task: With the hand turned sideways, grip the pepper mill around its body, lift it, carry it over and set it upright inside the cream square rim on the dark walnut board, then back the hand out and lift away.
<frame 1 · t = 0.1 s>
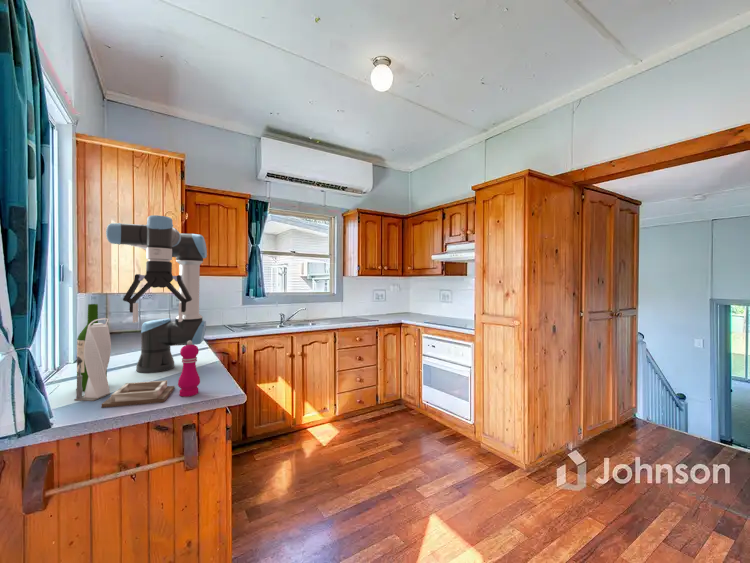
hand: (158, 321, 117), 28 cm above the table, tool pointing down, fingers open, 13 cm apart
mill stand: (141, 397, 121), on the table
skyscraper: (96, 397, 121), on the table
pepper mill: (189, 394, 125), on the table
wine bottle: (92, 388, 131), on the table
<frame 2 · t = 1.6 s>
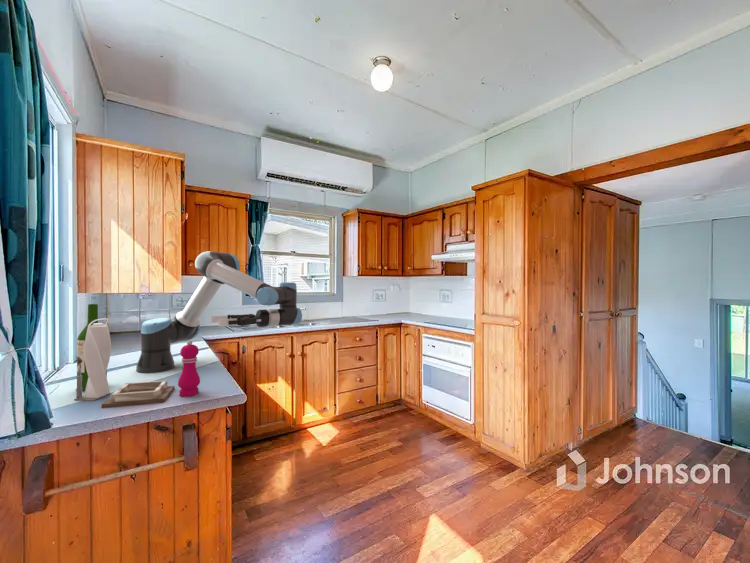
hand: (214, 321, 134), 26 cm above the table, tool horizontal, fingers open, 13 cm apart
nothing on the table moved.
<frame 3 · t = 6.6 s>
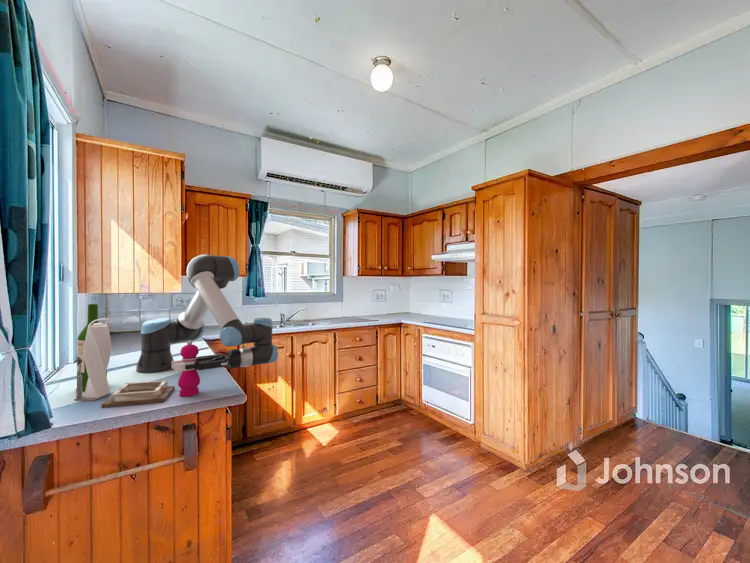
hand: (173, 366, 122), 11 cm above the table, tool horizontal, fingers closed on pepper mill, 5 cm apart
pepper mill: (189, 394, 125), on the table, touching gripper
everything else where it was.
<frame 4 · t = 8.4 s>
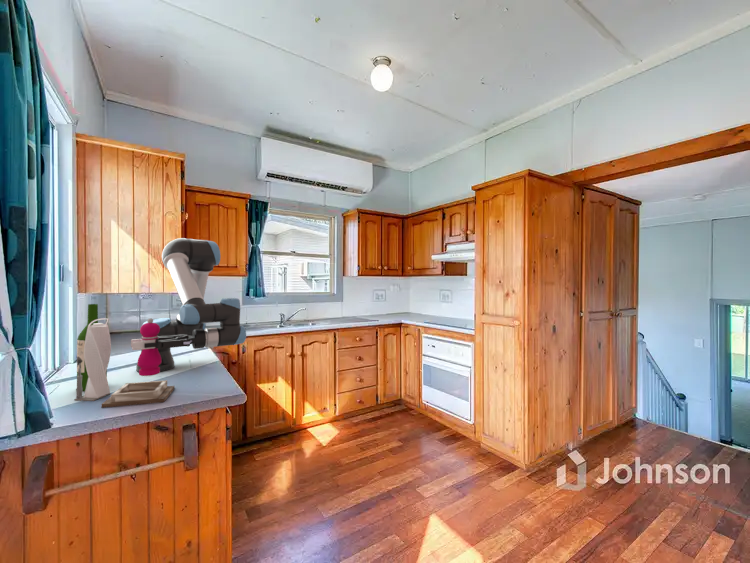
hand: (132, 344, 118), 20 cm above the table, tool horizontal, fingers closed on pepper mill, 5 cm apart
pepper mill: (149, 374, 121), point 8 cm above the table, touching gripper
everything else where it was.
when the fingers open (14 cm above the table, at t = 10.4 s): pepper mill drops 1 cm, resting on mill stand.
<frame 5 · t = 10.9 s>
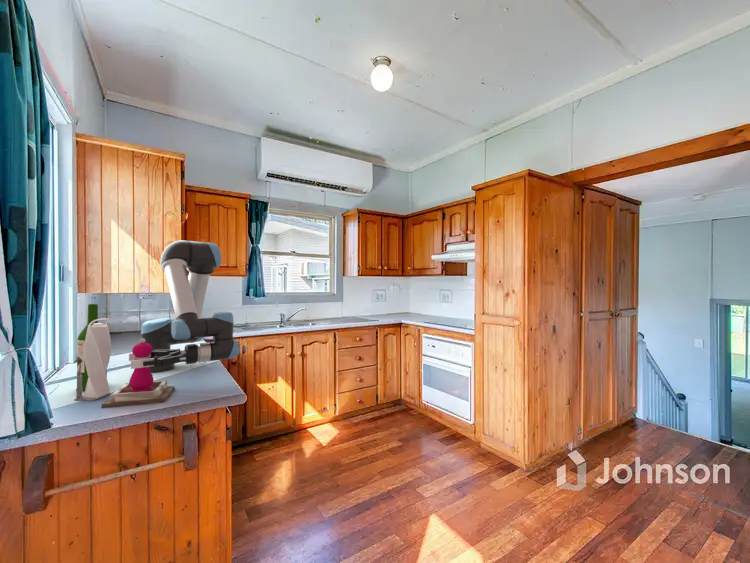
hand: (129, 360, 119), 14 cm above the table, tool horizontal, fingers open, 13 cm apart
pepper mill: (141, 394, 121), point 1 cm above the table, touching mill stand
everything else where it was.
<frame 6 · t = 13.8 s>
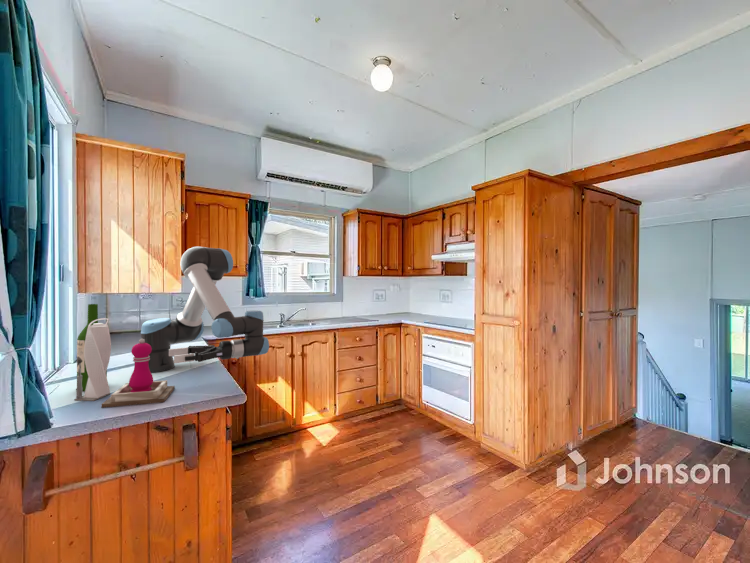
hand: (171, 355, 127), 14 cm above the table, tool horizontal, fingers open, 13 cm apart
nothing on the table moved.
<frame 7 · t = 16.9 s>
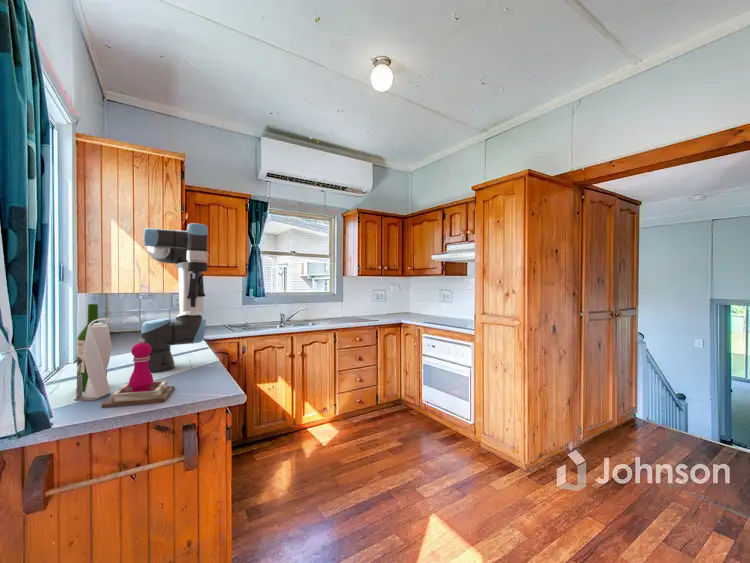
hand: (196, 313, 138), 29 cm above the table, tool pointing down, fingers open, 13 cm apart
nothing on the table moved.
at the end: pepper mill 0.0 cm off-centre on the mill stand, point 1.0 cm above the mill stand's base; pepper mill tilted 0°; the gripper is holding nothing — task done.
